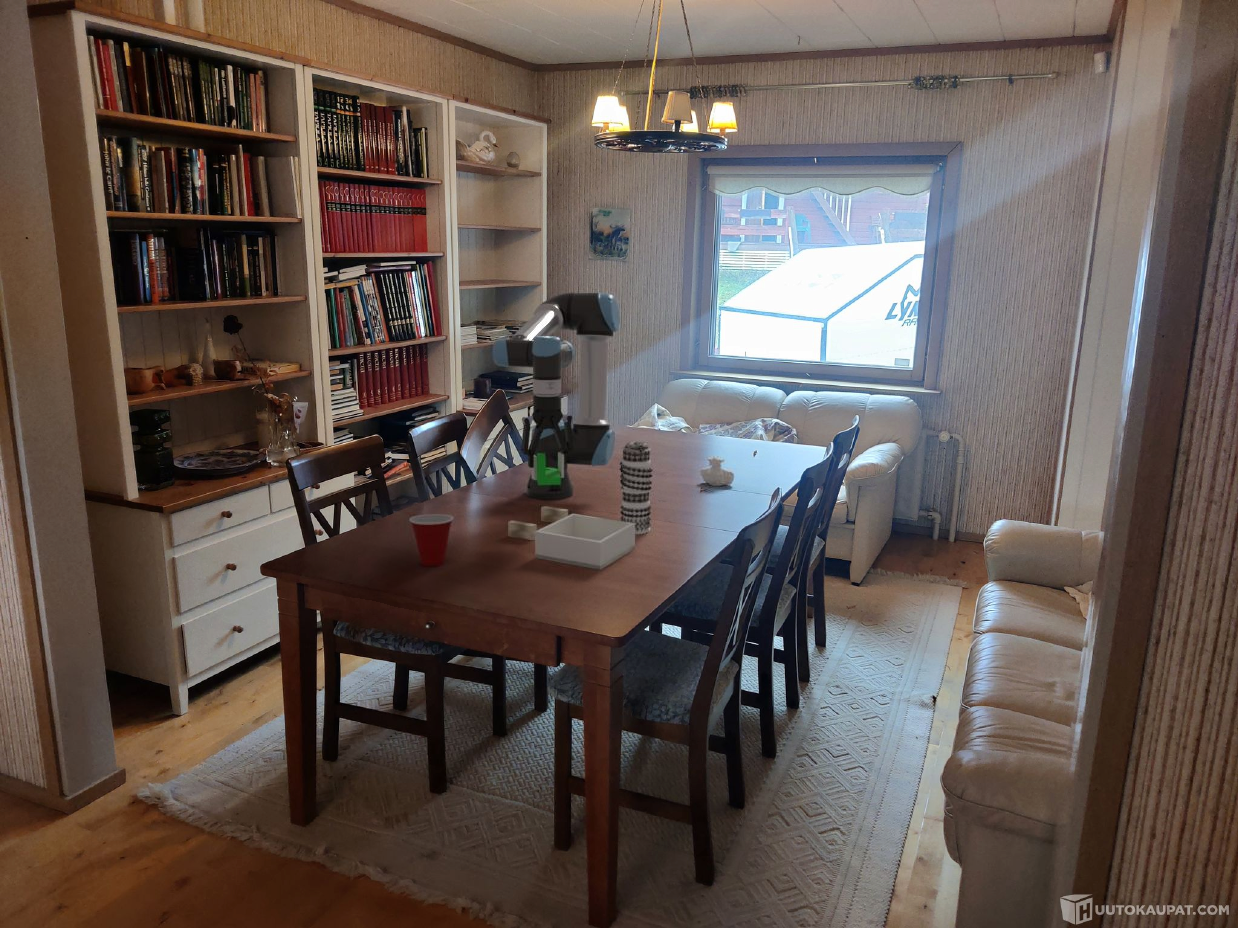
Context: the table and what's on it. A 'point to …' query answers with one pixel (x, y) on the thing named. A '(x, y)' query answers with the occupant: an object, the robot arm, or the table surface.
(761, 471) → the table surface
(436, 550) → the plastic cup
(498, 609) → the table surface
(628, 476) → the decorative candle
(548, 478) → the mechanical part
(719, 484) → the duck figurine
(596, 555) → the bin
